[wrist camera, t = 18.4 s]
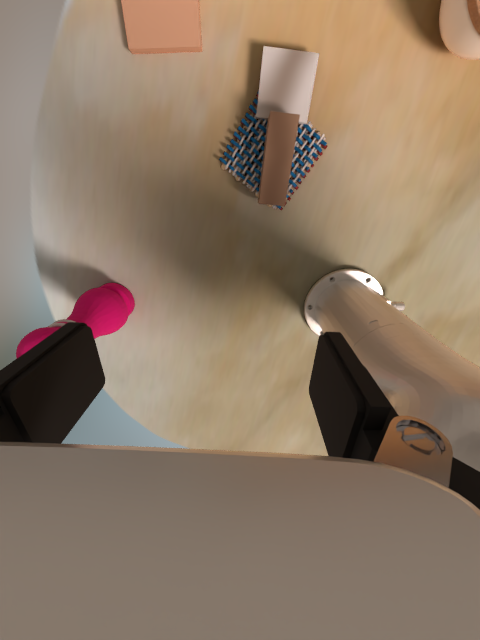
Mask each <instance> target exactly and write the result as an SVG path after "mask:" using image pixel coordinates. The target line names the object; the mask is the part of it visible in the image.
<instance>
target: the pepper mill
mask: <svg viewBox="0 0 480 640" xmlns="http://www.w3.org/2000/svg"><path fill="white" fill-rule="evenodd" d="M134 305H135V303H134V298H133V296H132V294H131V293H130V291H129V290H128V289H127V288H125V287H124V286H122V285H120V284H117V283H107V284H104V285H102V286H101V287H99V288H93V289H90V290H88V291H86V292H85V293H84V294H83V295H81V296H80V297H79V299H78V300H77V302H76V303H75V306H74V309H73V312H72V314H71V315H70V316H69V317H68V318H67V319H63V320H58V321H56V322H54V323H53V324H51V325H50V326H48V327H46V328H39V329H36V330H34V331H32V332H30V333H29V334H27V335H26V336H25V337H24V338H23V339H22V340H21V341H20V343H19V345H18V347H17V352H16V356H17V358H19V357H20V356H21V355H23V354H24V353H26V352H27V351H28V350H30V349H31V348H33V347H34V346H35V345H37V344H38V343H40V342H41V341H42V340H44V339H45V338H47V337H48V336H49V335H51V334H52V333H54V332H55V331H56V330H58V329H59V328H61V327H62V326H63V325H65V324H66V323H68V322H80V323H86V324H87V326H89V327H90V328H91V329H92V332H93V336H94V339H95V338H97V337H99V336H103V335H108V334H111V333H113V332H115V331H117V330H119V329H120V328H121V327H122V326H123V325H124V324H125V323H126V321H127V318H128V316H129V315H130V314H131V312H132V311H133V309H134Z"/></svg>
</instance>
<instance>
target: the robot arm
mask: <svg viewBox="0 0 480 640" xmlns="http://www.w3.org/2000/svg"><path fill="white" fill-rule="evenodd" d="M331 277H332V279H330V278H331ZM366 278H367V279H366ZM309 305H310V306H309ZM404 308H405V304H404V302H390V301H389V300H388V299H387V298H385V297H384V293H383V290H382V287H381V286H380V284H379V282H378V281H377V280H376V279H375V278H374V277H373V276H371V275H370V274H368V273H366V272H364V271H362V270H357V269H341V270H337V271H334V272H331V273H329V274H327V275H325V276H324V277H322V278H321V279H320V280H318V281H317V282H316V283H315V284H314V285H313V287H312V288H311V289H310V291H309V293H308V295H307V297H306V299H305V304H304V315H305V319H306V321H307V324H308V325H309V327H310V328H311V330H312V331H313V332H314V333H315V334H317V335H318V336H319V339H318V345H317V350H316V355H315V360H314V365H313V370H312V375H311V380H310V385H309V394H310V398H311V401H312V404H313V407H314V410H315V414H316V417H317V420H318V423H319V426H320V430H321V433H322V436H323V439H324V442H325V446H326V449H327V452H328V455H329V456H317V455H302V454H286V453H268V452H247V451H226V450H205V449H182V448H157V447H134V446H109V445H83V444H81V445H80V444H61V443H62V441H63V440H64V439H65V437H66V436H67V435H68V433H69V432H70V431H71V429H72V428H73V426H74V425H75V424H76V423H77V421H78V420H79V418H80V417H81V416H82V415H83V413H84V412H85V411H86V409H87V408H88V407H89V405H90V404H91V403H92V401H93V400H94V398H95V397H96V396H97V394H98V393H99V392H100V390H101V389H102V388H103V386H104V384H105V376H104V373H103V369H102V365H101V362H100V358H99V354H98V351H97V347H96V343H95V340H94V336H93V332H92V329H91V328H90V327H89V326H87V324H86V323H80V322H68V323H66V324H65V325H63V326H62V327H61V328H59V329H58V330H56V331H55V332H54V333H52V334H51V335H49V336H48V337H47V338H45V339H44V340H42V341H41V342H40V343H38V344H37V345H35V346H34V347H33V348H31V349H30V350H28V351H27V352H26V353H24V354H23V355H21V356H20V357H19V358H17V359H16V360H14V361H13V362H12V363H10V364H9V365H8V366H6V367H5V368H3V369H2V370H0V640H480V367H478V366H477V365H475V364H473V363H472V362H470V361H468V360H467V359H465V358H463V357H462V356H460V355H459V354H457V353H456V352H455V351H453V350H452V349H450V348H449V347H447V346H446V345H444V344H443V343H442V342H440V341H439V340H437V339H436V338H435V337H433V336H432V335H431V334H430V333H428V332H427V331H426V330H424V329H423V328H421V327H420V326H419V325H417V324H416V323H415V322H413V321H412V320H411V319H410V318H408V317H407V315H404V314H403V313H402V312H400V311H403V310H404Z"/></svg>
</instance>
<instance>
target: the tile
mask: <svg viewBox="0 0 480 640" xmlns="http://www.w3.org/2000/svg"><path fill="white" fill-rule="evenodd" d="M121 3H122V10H123V16H124V22H125V29H126V35H127V42H128V48H129V50H130V51H131V52H132V54H148V53H177V52H202V37H201V21H200V4H199V0H121Z"/></svg>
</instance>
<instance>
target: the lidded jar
mask: <svg viewBox="0 0 480 640" xmlns="http://www.w3.org/2000/svg"><path fill="white" fill-rule="evenodd" d="M439 27H440V34H441V37H442V40H443V42H444V44H445V46H446V47H447V49H448V50H449V51H450V52H451V53H453V54H454V55H455V56H457V57H460V58H463V59H468V60H480V0H441V6H440V13H439Z"/></svg>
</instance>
